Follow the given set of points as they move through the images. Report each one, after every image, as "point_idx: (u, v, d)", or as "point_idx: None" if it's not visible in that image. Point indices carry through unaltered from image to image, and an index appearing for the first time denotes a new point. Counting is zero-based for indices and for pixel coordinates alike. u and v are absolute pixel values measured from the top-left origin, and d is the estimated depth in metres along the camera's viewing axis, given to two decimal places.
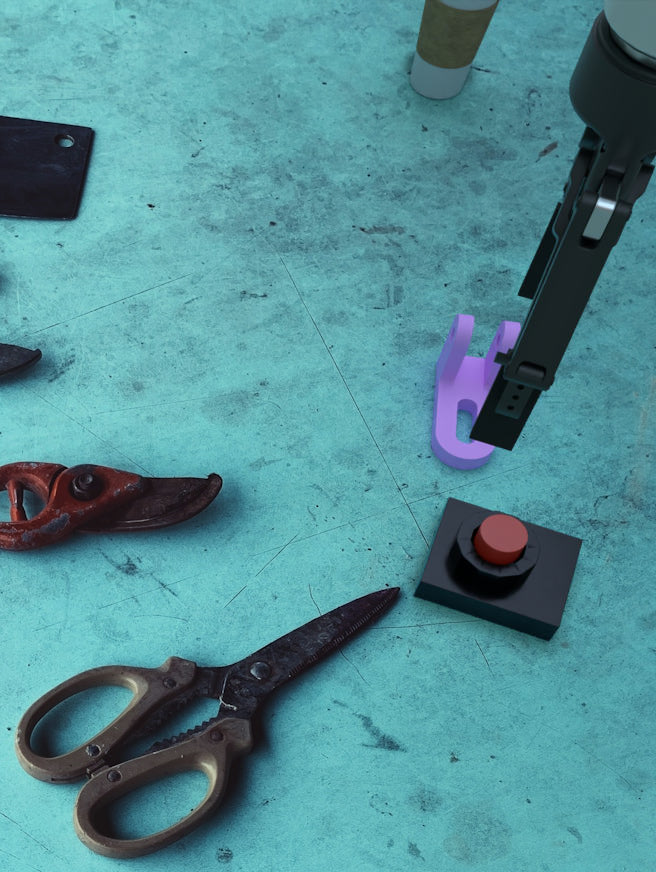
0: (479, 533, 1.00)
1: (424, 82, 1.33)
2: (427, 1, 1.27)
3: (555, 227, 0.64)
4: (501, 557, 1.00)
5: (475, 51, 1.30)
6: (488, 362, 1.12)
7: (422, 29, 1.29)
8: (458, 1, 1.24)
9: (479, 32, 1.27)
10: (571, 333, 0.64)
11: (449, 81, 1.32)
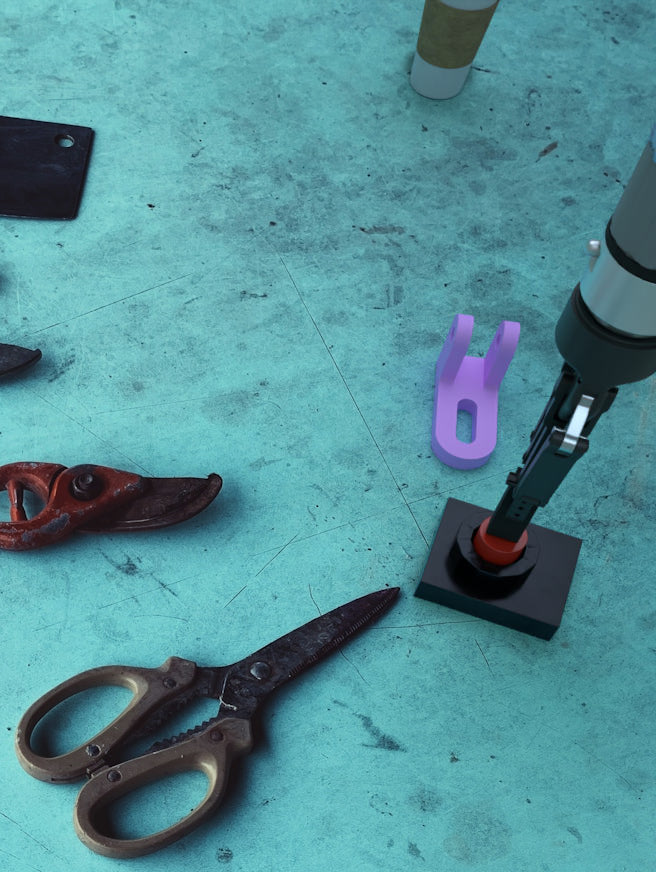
0: (479, 533, 1.00)
1: (424, 82, 1.33)
2: (427, 1, 1.27)
3: (544, 422, 0.87)
4: (501, 557, 1.00)
5: (475, 51, 1.30)
6: (488, 362, 1.12)
7: (422, 29, 1.29)
8: (458, 1, 1.24)
9: (479, 32, 1.27)
10: (555, 489, 0.89)
11: (449, 81, 1.32)
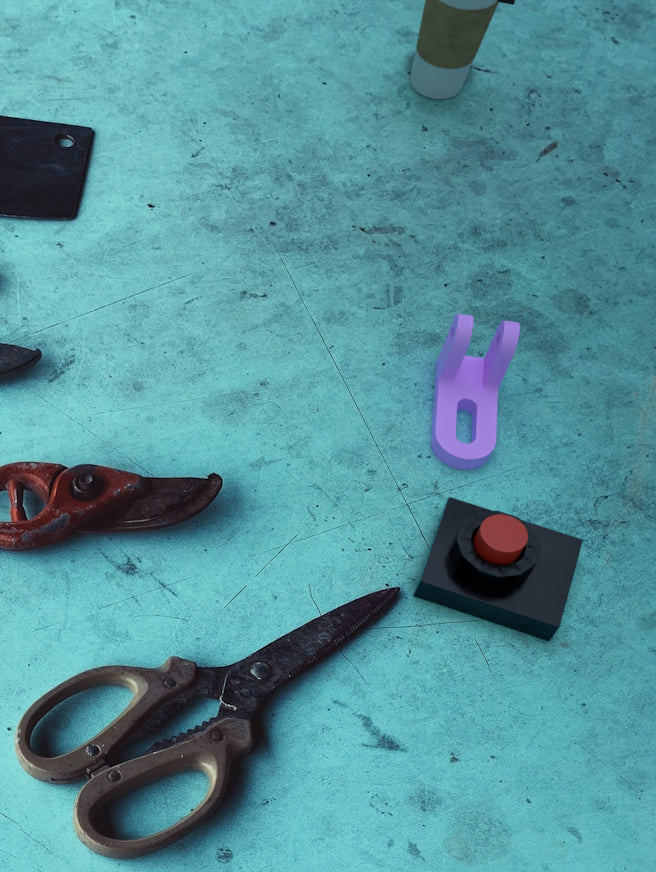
0: (479, 533, 1.00)
1: (424, 82, 1.33)
2: (427, 1, 1.27)
3: None
4: (501, 557, 1.00)
5: (475, 51, 1.30)
6: (487, 362, 1.13)
7: (422, 29, 1.29)
8: (458, 1, 1.24)
9: (479, 32, 1.27)
10: None
11: (449, 81, 1.32)
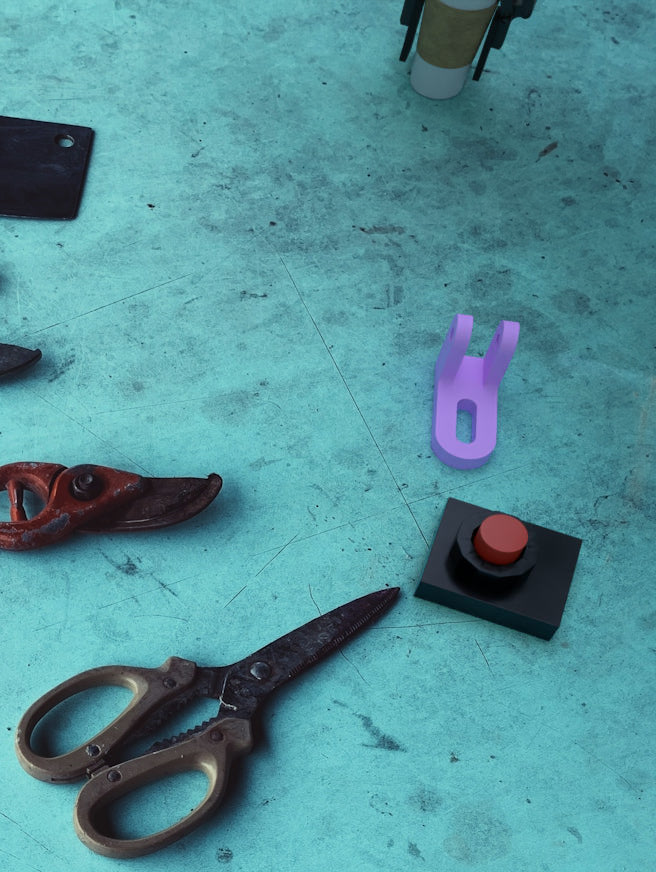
0: (479, 533, 1.00)
1: (424, 82, 1.33)
2: (427, 1, 1.27)
3: None
4: (501, 557, 1.00)
5: (475, 51, 1.30)
6: (487, 362, 1.13)
7: (422, 29, 1.29)
8: (458, 1, 1.24)
9: (479, 32, 1.27)
10: None
11: (449, 81, 1.32)
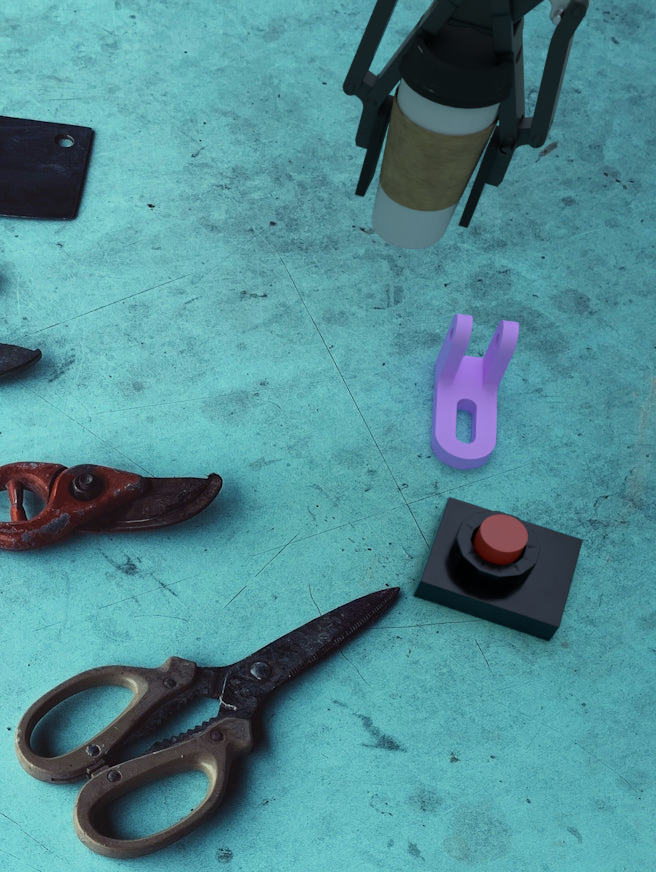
0: (479, 533, 1.00)
1: (390, 226, 0.93)
2: (393, 118, 0.87)
3: None
4: (501, 557, 1.00)
5: (463, 187, 0.90)
6: (487, 362, 1.13)
7: (387, 155, 0.89)
8: (437, 122, 0.84)
9: (468, 163, 0.87)
10: None
11: (426, 227, 0.92)
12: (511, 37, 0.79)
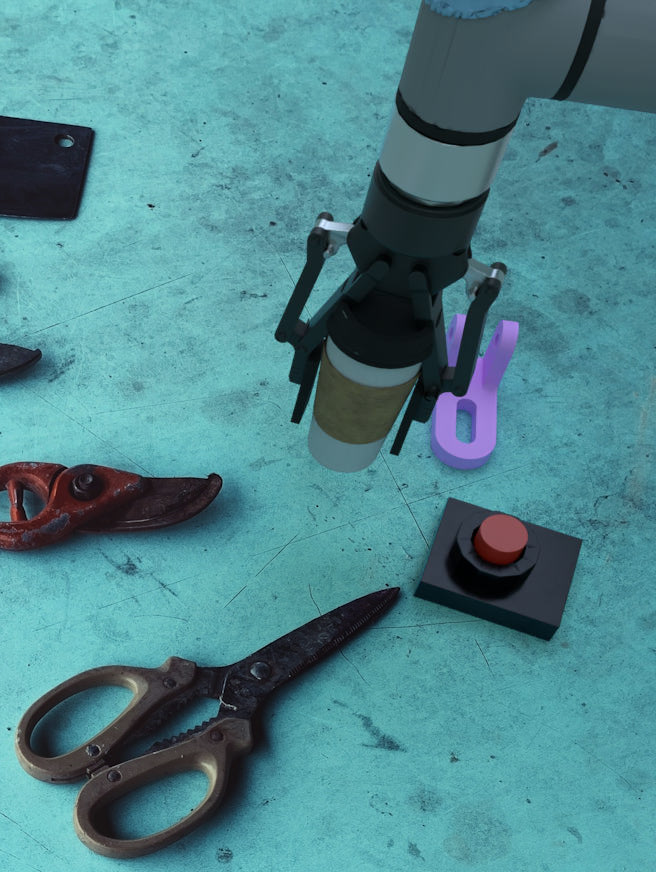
0: (479, 533, 1.00)
1: (325, 453, 0.97)
2: (323, 365, 0.91)
3: None
4: (501, 557, 1.00)
5: (392, 423, 0.94)
6: (486, 361, 1.13)
7: (319, 394, 0.93)
8: (363, 377, 0.88)
9: (396, 407, 0.91)
10: (287, 305, 0.88)
11: (358, 456, 0.96)
12: (430, 309, 0.83)
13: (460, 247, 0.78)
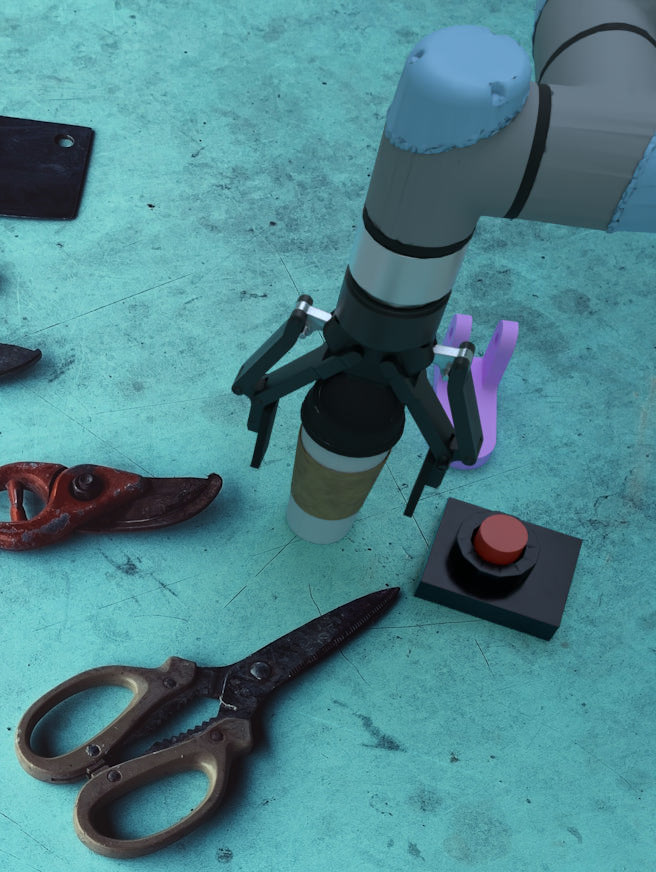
0: (479, 533, 1.00)
1: (302, 527, 1.05)
2: (298, 450, 0.99)
3: None
4: (501, 557, 1.00)
5: (363, 501, 1.02)
6: (486, 361, 1.13)
7: (295, 475, 1.01)
8: (334, 463, 0.96)
9: (365, 488, 0.99)
10: (251, 365, 0.94)
11: (332, 530, 1.04)
12: (410, 390, 0.90)
13: (425, 341, 0.85)
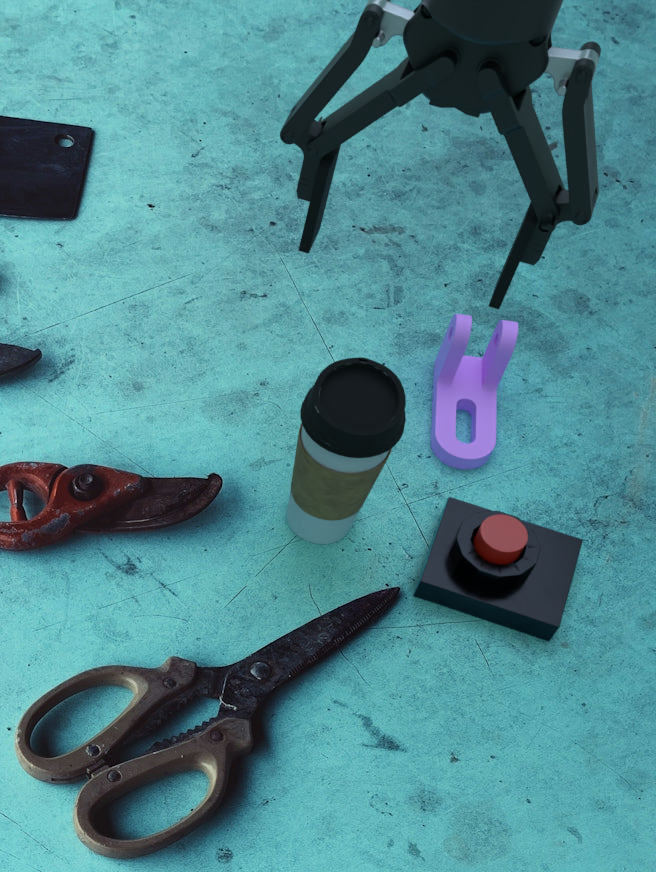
0: (479, 533, 1.00)
1: (302, 527, 1.05)
2: (298, 450, 0.99)
3: (404, 59, 0.73)
4: (501, 557, 1.00)
5: (363, 501, 1.02)
6: (486, 361, 1.13)
7: (295, 475, 1.01)
8: (334, 464, 0.96)
9: (365, 488, 0.99)
10: (307, 97, 0.75)
11: (332, 530, 1.04)
12: (514, 113, 0.70)
13: (541, 31, 0.66)
